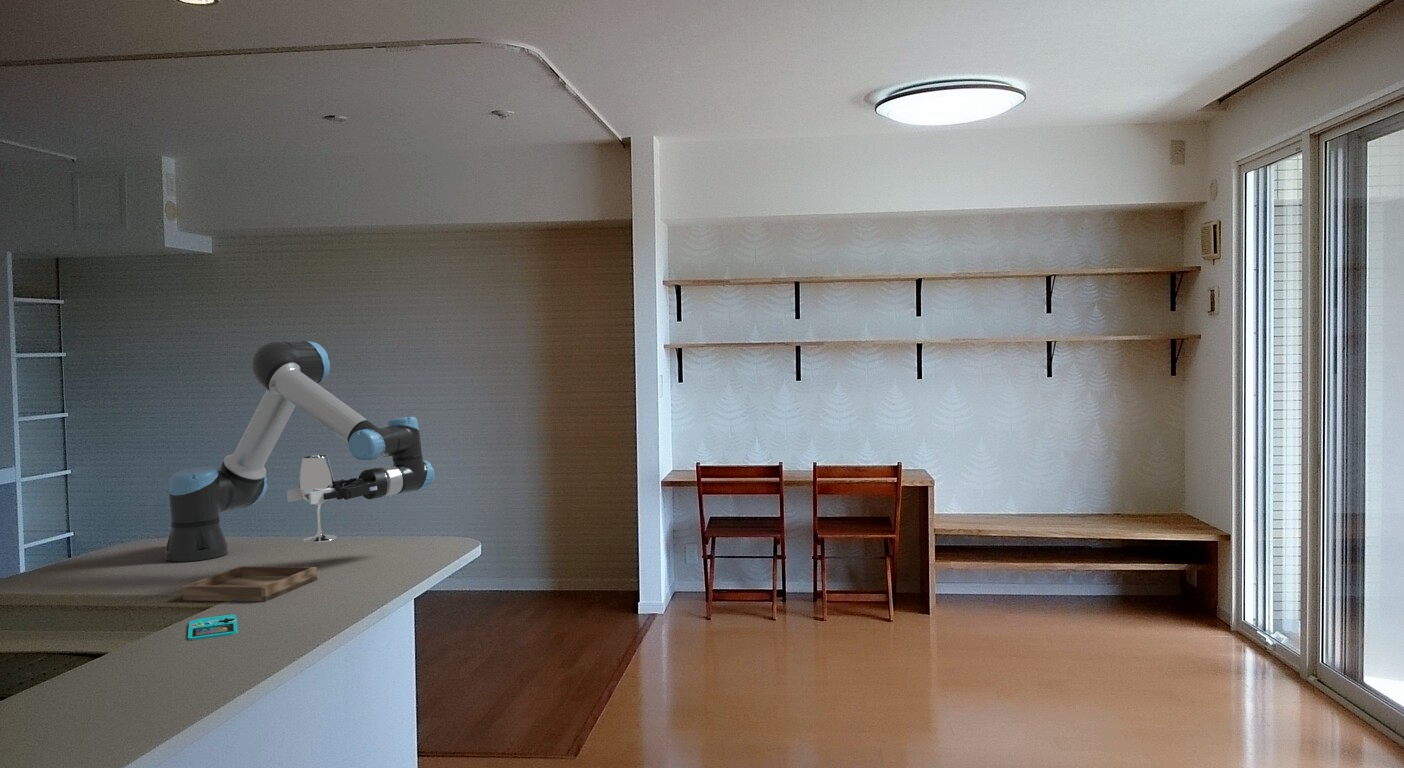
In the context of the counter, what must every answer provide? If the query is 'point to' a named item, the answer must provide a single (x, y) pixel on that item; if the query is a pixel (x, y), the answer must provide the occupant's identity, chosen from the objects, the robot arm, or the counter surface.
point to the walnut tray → (249, 583)
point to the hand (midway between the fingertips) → (299, 497)
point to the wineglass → (316, 487)
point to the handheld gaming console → (213, 626)
